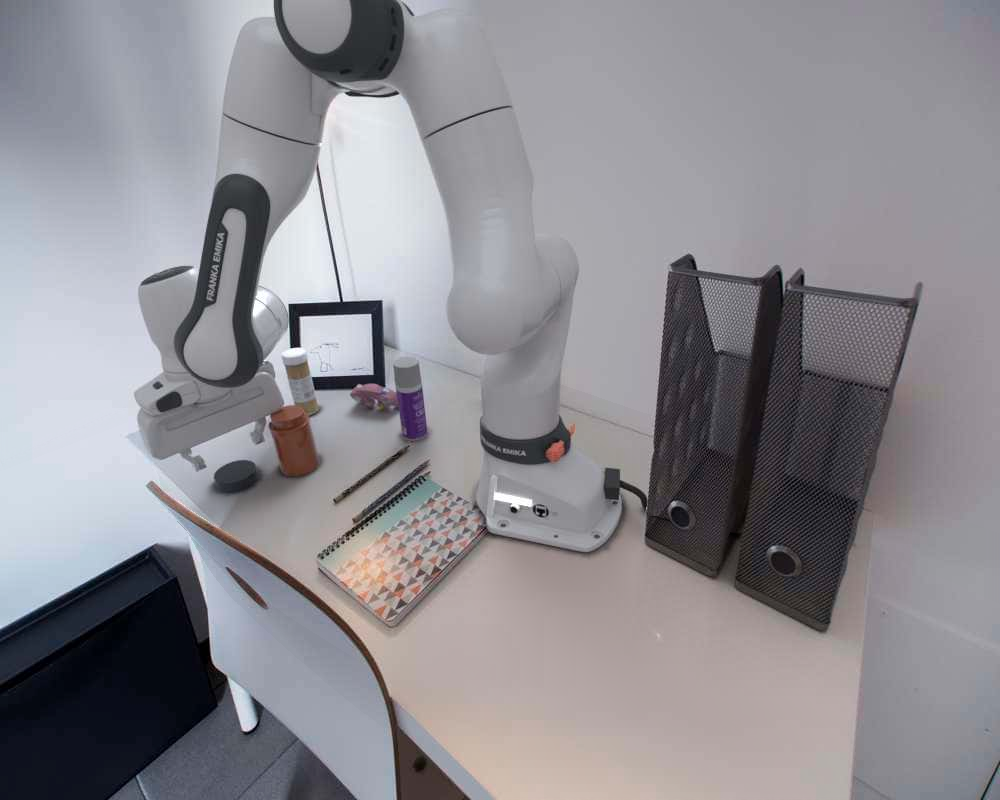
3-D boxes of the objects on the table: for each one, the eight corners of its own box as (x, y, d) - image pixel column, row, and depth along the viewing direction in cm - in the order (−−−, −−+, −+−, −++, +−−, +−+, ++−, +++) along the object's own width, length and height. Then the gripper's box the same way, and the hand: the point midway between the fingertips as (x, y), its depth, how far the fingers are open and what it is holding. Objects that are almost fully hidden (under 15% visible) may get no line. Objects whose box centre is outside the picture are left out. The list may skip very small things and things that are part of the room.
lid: (214, 476, 90) (211, 467, 89) (255, 464, 93) (252, 455, 92) (219, 497, 85) (215, 488, 84) (261, 484, 88) (258, 474, 87)
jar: (327, 460, 93) (315, 408, 88) (299, 480, 88) (285, 426, 83) (301, 451, 96) (288, 400, 91) (273, 470, 91) (257, 417, 86)
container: (422, 442, 97) (414, 368, 90) (398, 439, 98) (388, 367, 91) (430, 428, 101) (422, 357, 94) (407, 426, 102) (397, 355, 95)
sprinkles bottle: (314, 403, 111) (300, 344, 104) (322, 412, 108) (309, 351, 101) (292, 411, 108) (277, 351, 102) (300, 420, 105) (285, 358, 99)
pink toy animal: (356, 412, 110) (343, 392, 105) (365, 394, 113) (352, 374, 107) (399, 418, 108) (388, 398, 102) (407, 400, 110) (396, 380, 105)
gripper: (261, 350, 87) (281, 422, 94) (120, 397, 74) (156, 476, 81) (279, 360, 83) (299, 434, 90) (134, 411, 70) (170, 493, 77)
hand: (230, 454), depth 85 cm, fingers open, 8 cm apart
